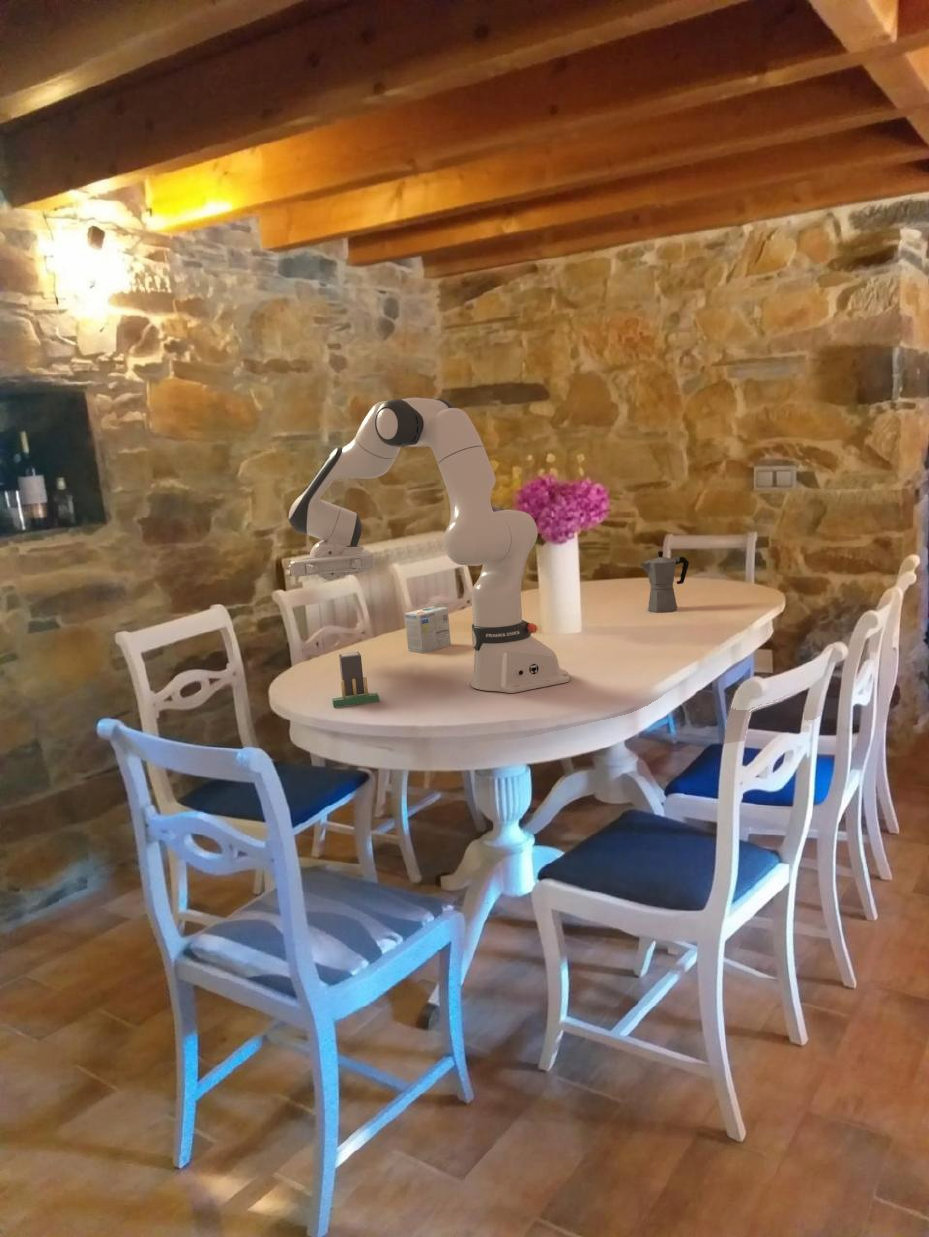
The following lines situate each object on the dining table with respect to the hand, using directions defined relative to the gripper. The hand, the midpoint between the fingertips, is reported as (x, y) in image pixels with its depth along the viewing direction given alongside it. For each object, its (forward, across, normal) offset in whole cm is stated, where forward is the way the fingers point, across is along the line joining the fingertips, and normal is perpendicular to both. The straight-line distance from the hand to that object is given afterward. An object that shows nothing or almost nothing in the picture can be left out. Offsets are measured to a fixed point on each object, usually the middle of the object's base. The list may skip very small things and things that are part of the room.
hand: (335, 568), depth 219 cm
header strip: (+19, 0, +28) cm, 34 cm away
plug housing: (+15, 0, +28) cm, 32 cm away
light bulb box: (-27, +26, +28) cm, 47 cm away
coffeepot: (-40, +102, +28) cm, 113 cm away
